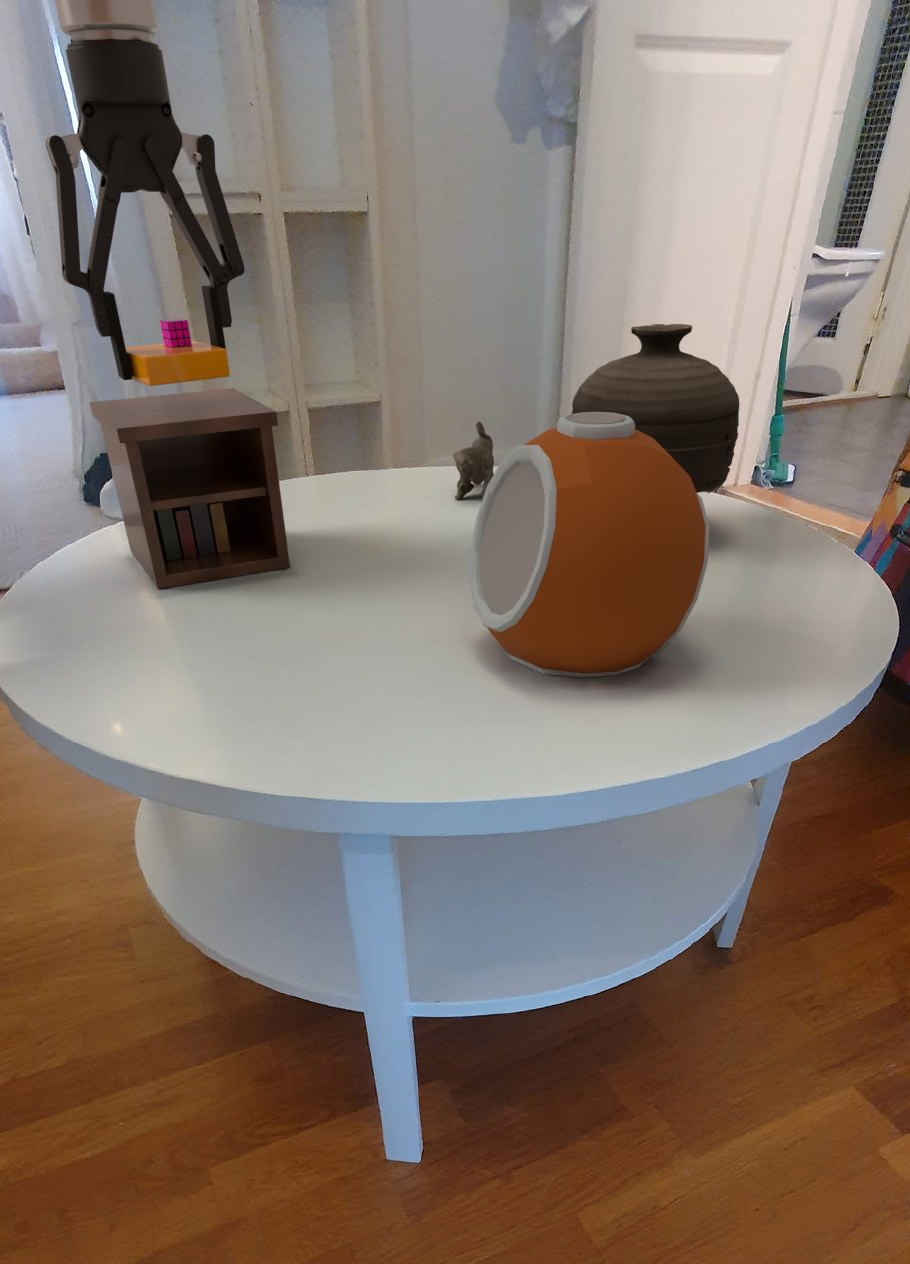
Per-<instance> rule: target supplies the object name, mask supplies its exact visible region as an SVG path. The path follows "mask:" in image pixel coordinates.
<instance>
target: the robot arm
mask: <svg viewBox="0 0 910 1264" xmlns="http://www.w3.org/2000/svg"><path fill="white" fill-rule="evenodd" d="M54 1H55V8H56V11H57V17H58V21H59V23H58V24H59V26H60V30H61V31H62V32H63V34H65V35H66V36H68V37H69V38H70V43H68V44H67V45H66V47H67V48H66V49H65V54H66V59H67V64H68V68H69V73H70V79H71V83H72V89H73V93H74V97H75V101H76V108H77V112H78V124H77V130H76V133H73V134H67V135H63V136H59V135H57V134H54V135H51V136H49V137H47V138H46V140H45V147H46V150H47V154H48V156H49V159H50V162H51V165H52V167H53V170H54V173H55V185H56V202H57V216H58V230H59V245H60V247H59V248H60V259H61V260H60V261H61V275H62V279H63V280H64V282H66V283H67V284H69V285H72V286H73V287H77V288H80V289H83V290H84V291H85V292H86V293H87V296H88V298H89V301H90V302H89V303H90V307H91V312H92V315H93V320H94V325H95V329H96V331H97V333H98V334H99V336H101V337H102V338H108V337H109V338H110V342H111V346H112V347H111V348H112V352H113V355H114V360H115V361H114V362H115V365H116V369H117V374H118V377H119V378H120V379H121V380H122V381H131V380H132V376H131V371H130V366H129V362H128V357H127V352H126V347H127V346H126V342H125V339H124V333H123V329H122V325H121V320H120V315H119V310H118V305H117V301H116V296H115V293H114V292H111V291H105V283H106V277H107V272H108V266H109V260H110V256H111V255H110V253H111V248H112V243H113V238H114V231H115V227H116V226H115V225H116V220H117V213H118V208H119V205H120V203H121V197H122V193H123V194H125V193H126V194H127V193H128V194H129V193H136V192H139V191H142V192H145V193H159V194H160V196H161V198H162V199H163V201H164V202H165V204H166V205H167V206H168V208H169V210H170V212H171V214H172V216H173V218H174V219H175V222H176V223H177V225H178V227H179V228H180V230H181V232H182V234H183V236H184V237H185V239H186V241H187V243H188V245H189V246H190V249H191V250H192V253H193V254H194V256H195V258H196V260H197V261H198V263H199V265H200V267H201V268H202V270H203V272H204V274H205V276H206V278H207V280H208V281H209V285H201V293H202V298H203V304H204V311H205V317H206V323H207V329H208V335H209V343H210V345H212V346H216V347H220V348H224V349H226V350H227V345H226V340H225V334H224V333H225V332H224V329H225V328H231V327H232V323H233V319H232V312H231V311H232V310H231V305H230V298H229V290H228V286H229V283H230V282H231V281H233V280H234V279H237V278H238V277H241V276H243V275H244V274H245V271H246V268H245V264H244V259H243V257H242V254H241V250H240V247H239V244H238V241H237V237H236V234H235V230H234V226H233V224H232V220H231V217H230V214H229V211H228V207H227V204H226V201H225V198H224V193H223V190H222V187H221V184H220V180H219V177H218V173H217V170H216V148H215V147H216V146H215V145H216V144H215V140H214V139H213V137H212V136H211V134H208V133H206V134H199V135H196V134H191V133H186V132H181V129H180V128H179V126H178V124H177V121H176V120H175V118H174V115H173V111H172V104H171V98H170V91H169V86H168V80H167V73H166V67H165V61H164V54H163V49H160V46H159V45H158V44H157V43H154V41H153V37H154V36H156V35H157V34H158V31H159V25H158V19H157V14H156V9H155V8H156V7H155V2H154V0H54ZM181 150H182V151H183V152H184V153H185V155H186V159H187V161H188V163H189V164H190V166H192V167H194V170H195V173H196V179H197V182H198V185H199V190H200V192H201V195H202V198H203V202H204V205H205V208H206V211H207V214H208V218H209V221H210V224H211V228H212V231H213V233H214V236H215V241H216V243H217V247H218V249H219V252H220V256H221V259H222V263H221V262H220V261H219V258H218V257H217V255H216V253H215V251H214V249H213V247H212V245H211V243H210V242H209V240H208V237H207V235H206V234H205V232H204V229H202V227H201V224H200V223H199V221H198V219H197V217H196V215H195V214H194V211H193V209H192V208H191V206H190V204H189V202H188V200H187V198H186V196H185V192H184V191H183V188H182V186H181V185H180V183H179V181H178V179H177V177H176V175H175V173H174V172H173V171H174V169H175V166H176V164H177V160H178V158H179V156H180V153H181ZM81 151H83V152H84V154H85V155H86V156H87V157H88V159H89V160H90V161H91V162H92V164H93V165H94V166H95V167H96V169H97V170H98V171H99V173H100V174H101V175H100V182H99V185H98V186H99V188H98V193H97V194H98V195H97V205H96V210H95V218H94V223H93V230H92V237H91V242H90V248H89V254H88V261H87V266H86V272H84V271H81V254H80V239H79V237H80V236H79V221H78V203H77V201H78V200H77V186H76V176H75V171H74V170H75V169H77V168H78V167H79V165H80V159H79V157H80V156H79V155H80V152H81ZM226 353H227V351H226ZM227 354H228V353H227ZM227 360H228V361H229V359H228V357H227ZM228 366H229V364H228ZM229 367H230V366H229Z"/></svg>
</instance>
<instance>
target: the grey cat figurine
mask: <svg viewBox="0 0 910 1264" xmlns="http://www.w3.org/2000/svg"><path fill="white" fill-rule="evenodd" d="M475 429H476V432H477V434H478V437H477V438H476V439H474V441H473V443H472V444H471V447H470V446H469V447H465V448H463V449H461V450H459V451H456V452H454V453H453V454H452V457H453V460H454V461H455V466H456V469H457V472H458V473H459V479H458V481H457V483H456V487H457V489H456V494H455V495H454V499H455V500H458V501H460V500H462V499H464V497H465V496H466V495H467V494H469V493H471V492H472V491H473V490H474V489H475V486H479V485H481V484H482V487H481V491H480V497H481V498H483V497H484V494H485V491H486V488H487V486H488V484H489V482H490V480H491V479H492V477H493V475H494V464H495V459H494V453H493V451H494V442H493V439H492V437H491V436H490V435H489V434H487V433H486V429H485V427H484V424H483V423H482V422H481V421H477V422H476V423H475Z"/></svg>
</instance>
